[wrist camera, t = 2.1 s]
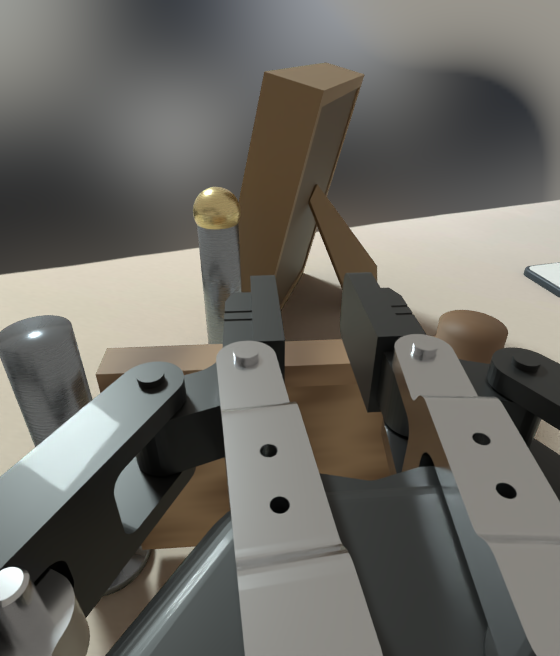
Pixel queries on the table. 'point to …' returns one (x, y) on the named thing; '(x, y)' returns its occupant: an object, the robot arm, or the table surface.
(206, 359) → the gate
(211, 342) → the post
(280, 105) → the photo frame
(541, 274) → the smartphone
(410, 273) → the table surface
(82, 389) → the hinge post
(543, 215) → the table surface
